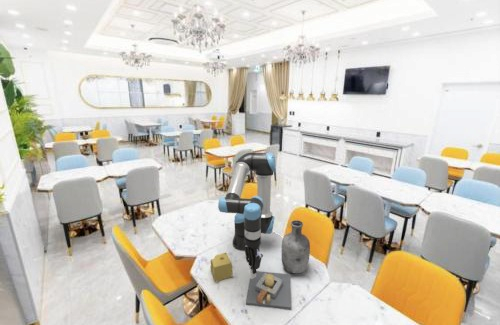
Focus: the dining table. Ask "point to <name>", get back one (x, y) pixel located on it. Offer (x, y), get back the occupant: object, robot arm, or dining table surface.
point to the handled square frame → (267, 288)
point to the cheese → (221, 267)
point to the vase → (295, 249)
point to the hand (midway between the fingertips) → (252, 277)
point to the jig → (283, 295)
